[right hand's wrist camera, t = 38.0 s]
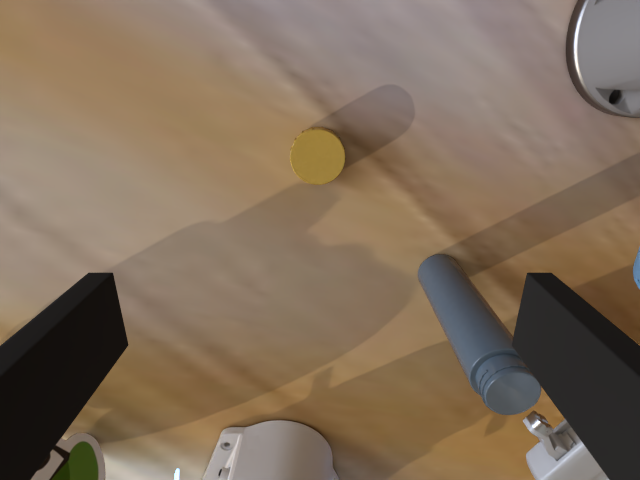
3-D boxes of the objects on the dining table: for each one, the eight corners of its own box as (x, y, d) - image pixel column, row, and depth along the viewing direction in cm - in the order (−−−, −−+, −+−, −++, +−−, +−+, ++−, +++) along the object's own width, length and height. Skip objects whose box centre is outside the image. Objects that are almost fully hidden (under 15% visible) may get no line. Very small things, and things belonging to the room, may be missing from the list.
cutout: (-186, 461, 38) (39, 595, 42) (-176, 445, 37) (52, 583, 41) (-40, 363, 52) (116, 470, 57) (-31, 350, 51) (127, 460, 56)
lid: (355, 155, 41) (357, 159, 39) (316, 191, 42) (316, 196, 40) (318, 114, 39) (318, 116, 37) (280, 153, 41) (277, 157, 39)
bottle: (409, 280, 46) (465, 405, 28) (432, 247, 45) (507, 357, 27) (443, 297, 47) (519, 428, 29) (467, 265, 45) (562, 383, 28)
